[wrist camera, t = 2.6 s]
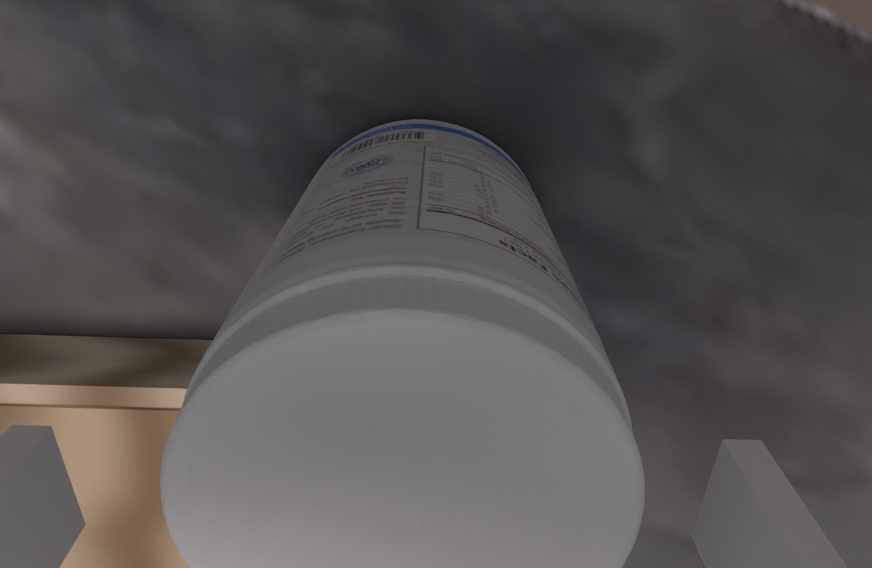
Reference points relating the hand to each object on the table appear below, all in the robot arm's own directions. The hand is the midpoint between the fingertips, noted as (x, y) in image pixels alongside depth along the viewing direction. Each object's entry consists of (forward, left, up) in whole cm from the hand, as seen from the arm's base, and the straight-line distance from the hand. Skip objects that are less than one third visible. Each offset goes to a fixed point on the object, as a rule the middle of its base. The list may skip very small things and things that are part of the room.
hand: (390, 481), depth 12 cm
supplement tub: (0, 0, -14) cm, 14 cm away
